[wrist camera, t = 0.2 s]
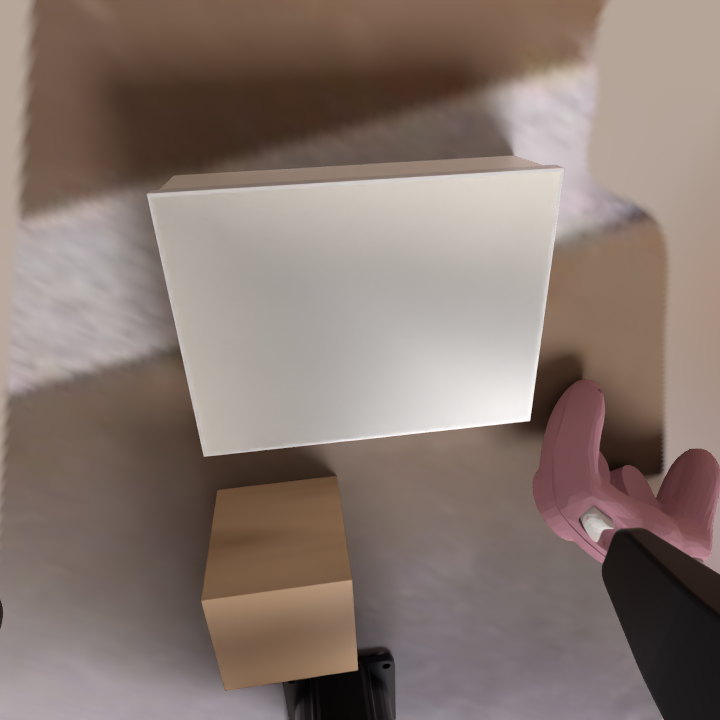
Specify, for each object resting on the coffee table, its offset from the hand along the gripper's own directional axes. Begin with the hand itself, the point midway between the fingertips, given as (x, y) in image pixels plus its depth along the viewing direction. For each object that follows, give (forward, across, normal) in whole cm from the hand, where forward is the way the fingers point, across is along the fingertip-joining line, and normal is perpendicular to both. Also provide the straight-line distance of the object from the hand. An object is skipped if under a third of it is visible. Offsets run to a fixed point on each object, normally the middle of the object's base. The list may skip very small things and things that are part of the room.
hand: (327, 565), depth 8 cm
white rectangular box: (+15, -2, +1) cm, 15 cm away
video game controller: (+15, -15, +9) cm, 23 cm away
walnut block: (+14, 0, +13) cm, 19 cm away
